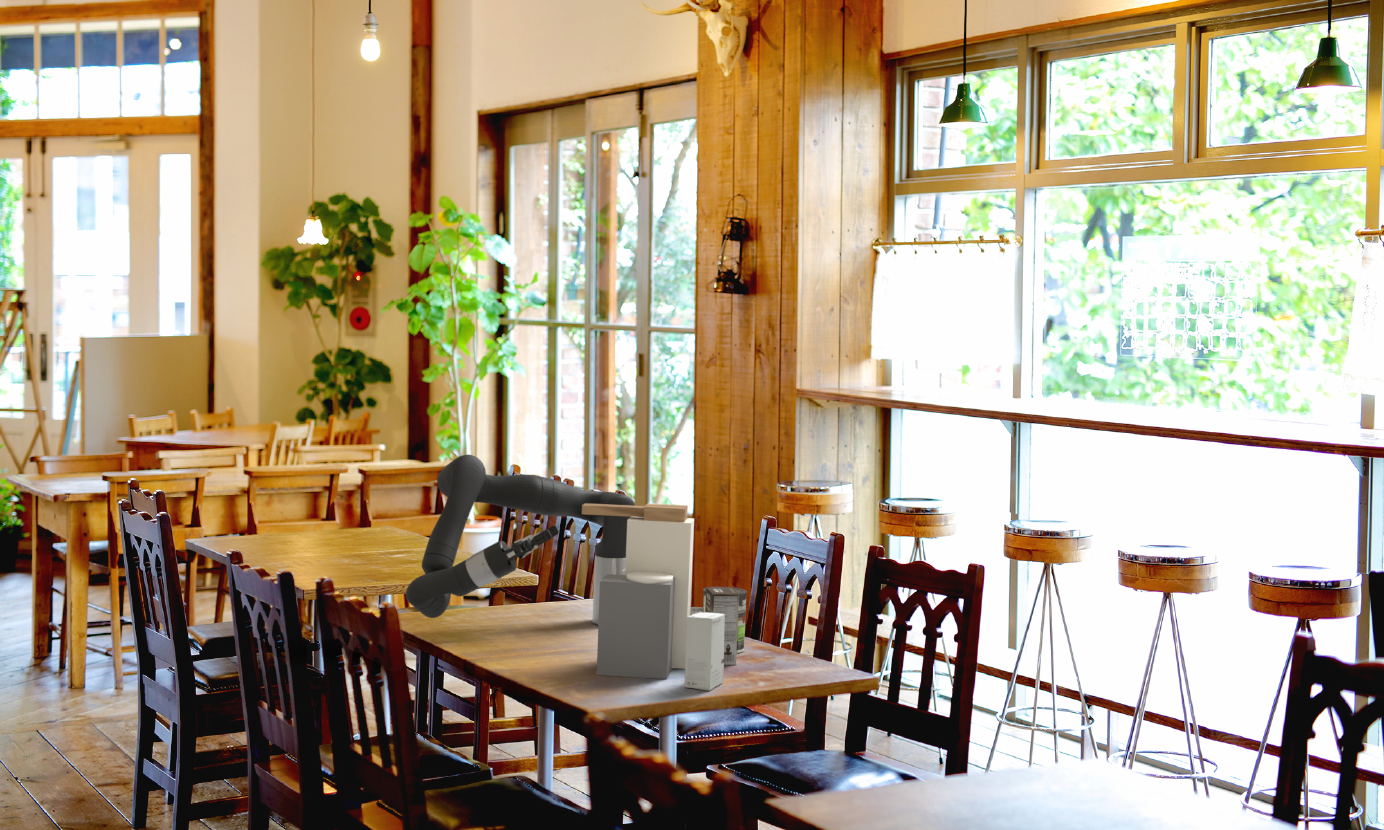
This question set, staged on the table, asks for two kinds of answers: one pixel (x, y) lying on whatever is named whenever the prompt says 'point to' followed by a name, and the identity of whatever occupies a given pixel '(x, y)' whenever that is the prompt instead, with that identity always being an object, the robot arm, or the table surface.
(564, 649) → the table surface
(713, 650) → the skincare box
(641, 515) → the oak block
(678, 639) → the tall plinth
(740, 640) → the coffee can
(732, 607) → the coffee box
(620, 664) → the gray box
